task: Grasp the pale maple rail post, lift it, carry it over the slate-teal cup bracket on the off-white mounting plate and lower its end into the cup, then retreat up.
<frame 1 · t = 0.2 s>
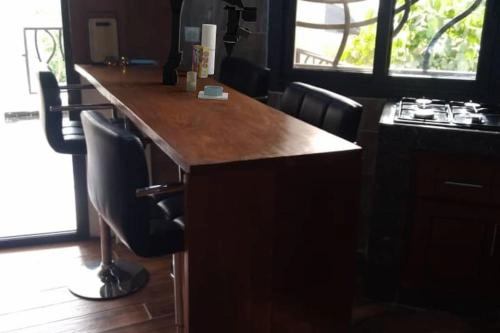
hand: (230, 56, 250), 14 cm above the table, fingers open, 9 cm apart
cup bracket: (213, 96, 232), on the table
rail post: (191, 90, 241), on the table
cylindrical container: (206, 73, 294), on the table
candy box: (199, 77, 281), on the table
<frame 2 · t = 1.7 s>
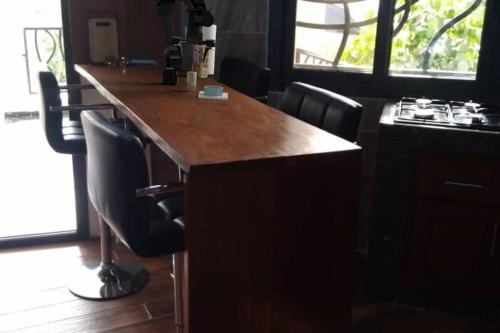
hand: (192, 62, 237), 12 cm above the table, fingers open, 9 cm apart
nothing on the table moved.
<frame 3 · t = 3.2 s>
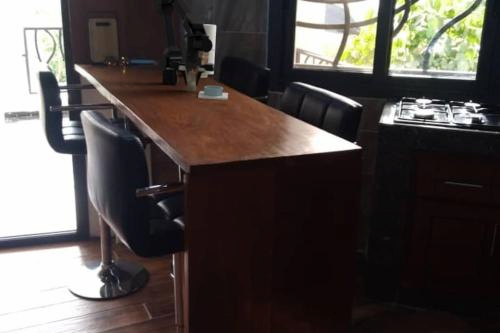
hand: (191, 86, 240), 2 cm above the table, fingers closed on rail post, 4 cm apart
rail post: (191, 90, 241), on the table, touching gripper
everything else where it was.
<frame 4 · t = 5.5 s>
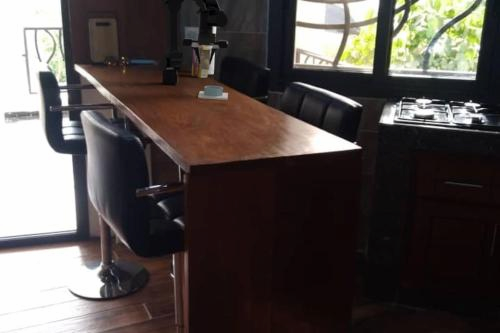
hand: (204, 64, 232), 13 cm above the table, fingers closed on rail post, 4 cm apart
rail post: (204, 69, 232), point 11 cm above the table, touching gripper
everything else where it was.
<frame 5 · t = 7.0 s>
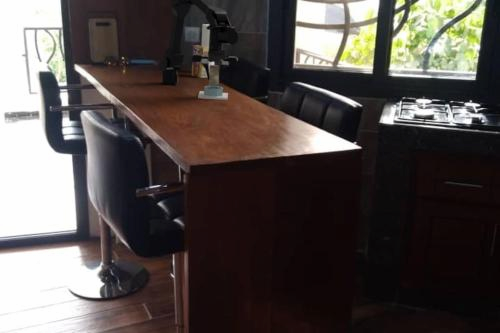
hand: (213, 80, 230), 7 cm above the table, fingers closed on rail post, 4 cm apart
rail post: (213, 85, 230), point 5 cm above the table, touching gripper
everything else where it was.
when the fingers open (4 cm above the table, at t = 7.8 s): rail post drops 1 cm, resting on cup bracket.
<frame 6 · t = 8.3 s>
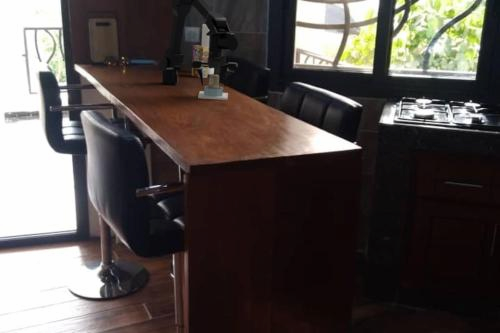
hand: (213, 86, 230), 4 cm above the table, fingers open, 9 cm apart
rail post: (213, 94, 231), point 1 cm above the table, touching cup bracket
everything else where it was.
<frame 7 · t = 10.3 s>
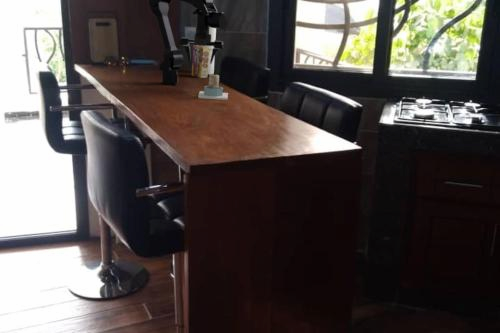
hand: (200, 62, 242), 12 cm above the table, fingers open, 9 cm apart
nothing on the table moved.
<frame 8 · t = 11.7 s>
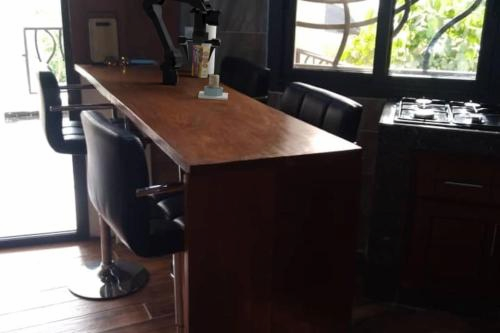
hand: (198, 61, 245), 12 cm above the table, fingers open, 9 cm apart
nothing on the table moved.
at the end: rail post 0.0 cm off-centre on the cup bracket, point 0.8 cm above the cup bracket's base; rail post tilted 0°; the gripper is holding nothing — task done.
